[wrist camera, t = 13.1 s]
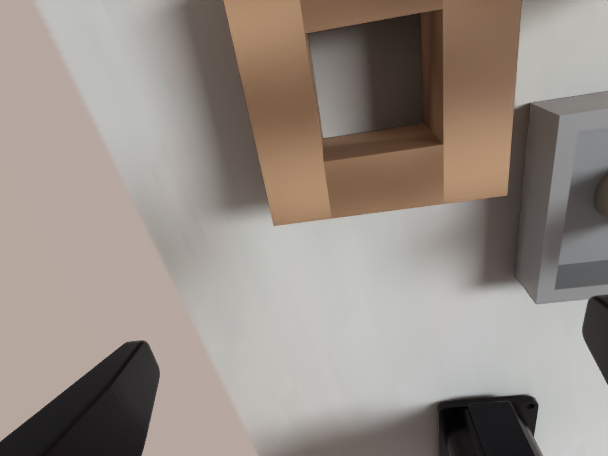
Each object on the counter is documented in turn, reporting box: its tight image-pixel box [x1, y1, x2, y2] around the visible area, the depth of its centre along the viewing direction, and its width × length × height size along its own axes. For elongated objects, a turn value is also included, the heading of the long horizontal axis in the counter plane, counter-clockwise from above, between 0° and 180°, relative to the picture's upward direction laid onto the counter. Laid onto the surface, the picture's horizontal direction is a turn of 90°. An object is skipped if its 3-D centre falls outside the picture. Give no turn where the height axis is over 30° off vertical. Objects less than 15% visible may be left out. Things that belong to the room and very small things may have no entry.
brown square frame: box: [223, 0, 522, 226], centre depth 17 cm, size 10×10×4 cm
